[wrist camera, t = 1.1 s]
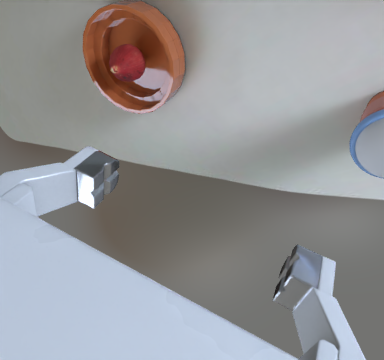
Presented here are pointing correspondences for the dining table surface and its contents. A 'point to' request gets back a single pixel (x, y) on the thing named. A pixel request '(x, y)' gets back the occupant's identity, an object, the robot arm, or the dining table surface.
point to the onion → (127, 63)
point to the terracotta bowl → (146, 42)
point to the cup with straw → (370, 138)
